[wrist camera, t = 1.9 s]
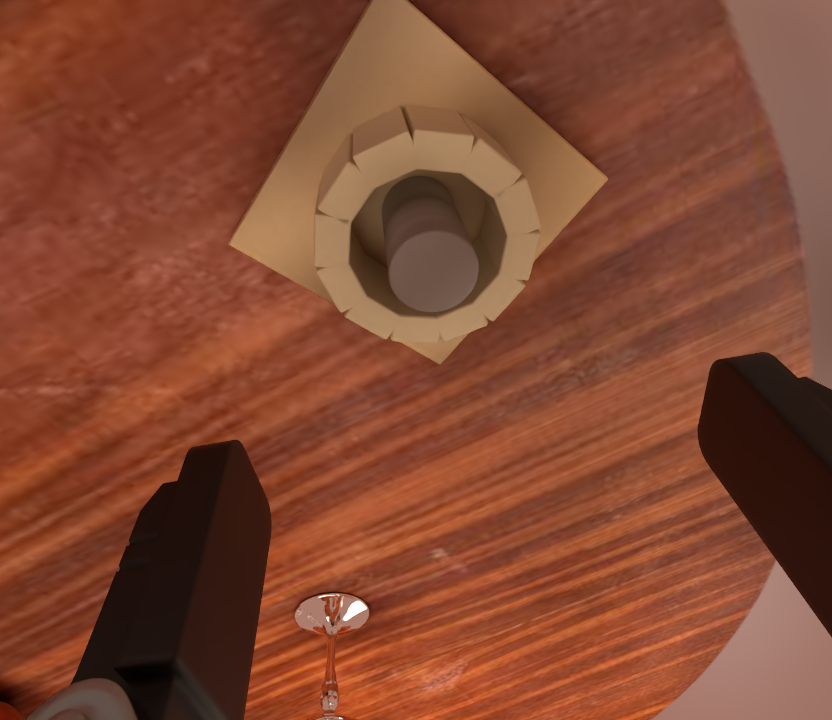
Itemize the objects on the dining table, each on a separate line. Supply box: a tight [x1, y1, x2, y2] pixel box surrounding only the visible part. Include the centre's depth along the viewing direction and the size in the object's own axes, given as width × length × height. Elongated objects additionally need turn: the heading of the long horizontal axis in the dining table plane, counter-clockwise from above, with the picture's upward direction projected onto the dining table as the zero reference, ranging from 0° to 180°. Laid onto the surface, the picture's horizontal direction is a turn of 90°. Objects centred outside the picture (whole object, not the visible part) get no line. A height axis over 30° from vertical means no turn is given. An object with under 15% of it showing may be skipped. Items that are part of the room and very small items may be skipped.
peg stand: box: [229, 0, 608, 364], centre depth 17 cm, size 9×9×6 cm
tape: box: [314, 105, 541, 343], centre depth 17 cm, size 6×6×3 cm
